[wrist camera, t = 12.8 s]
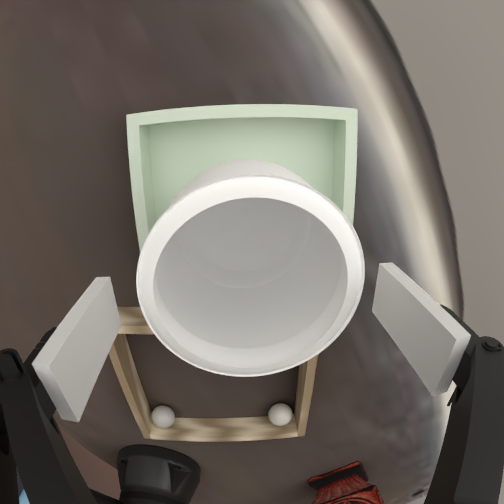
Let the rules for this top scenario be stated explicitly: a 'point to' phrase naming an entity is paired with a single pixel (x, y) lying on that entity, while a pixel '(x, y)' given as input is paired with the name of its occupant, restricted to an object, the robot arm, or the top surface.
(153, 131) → the bin
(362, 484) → the vase
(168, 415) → the white ball
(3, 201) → the top surface
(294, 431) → the bin
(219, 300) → the jar
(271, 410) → the pebble
